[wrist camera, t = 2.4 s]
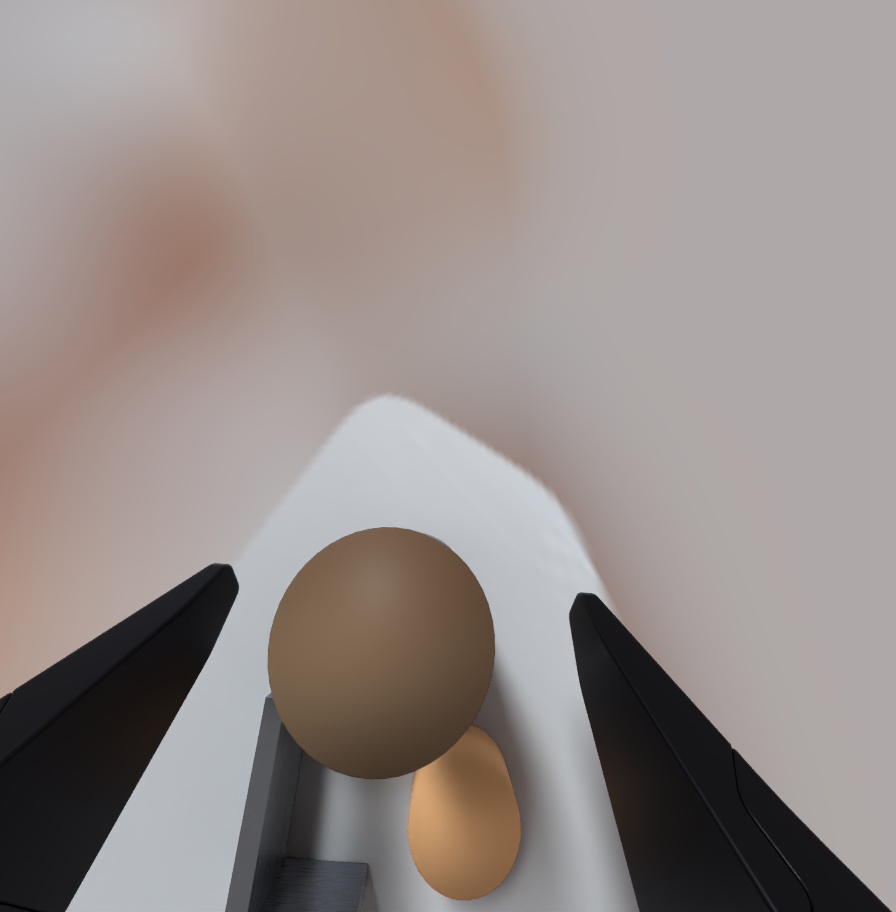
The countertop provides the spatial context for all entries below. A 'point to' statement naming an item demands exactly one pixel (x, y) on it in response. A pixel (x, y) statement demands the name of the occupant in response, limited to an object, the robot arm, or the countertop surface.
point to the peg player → (381, 653)
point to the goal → (283, 839)
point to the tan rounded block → (464, 819)
